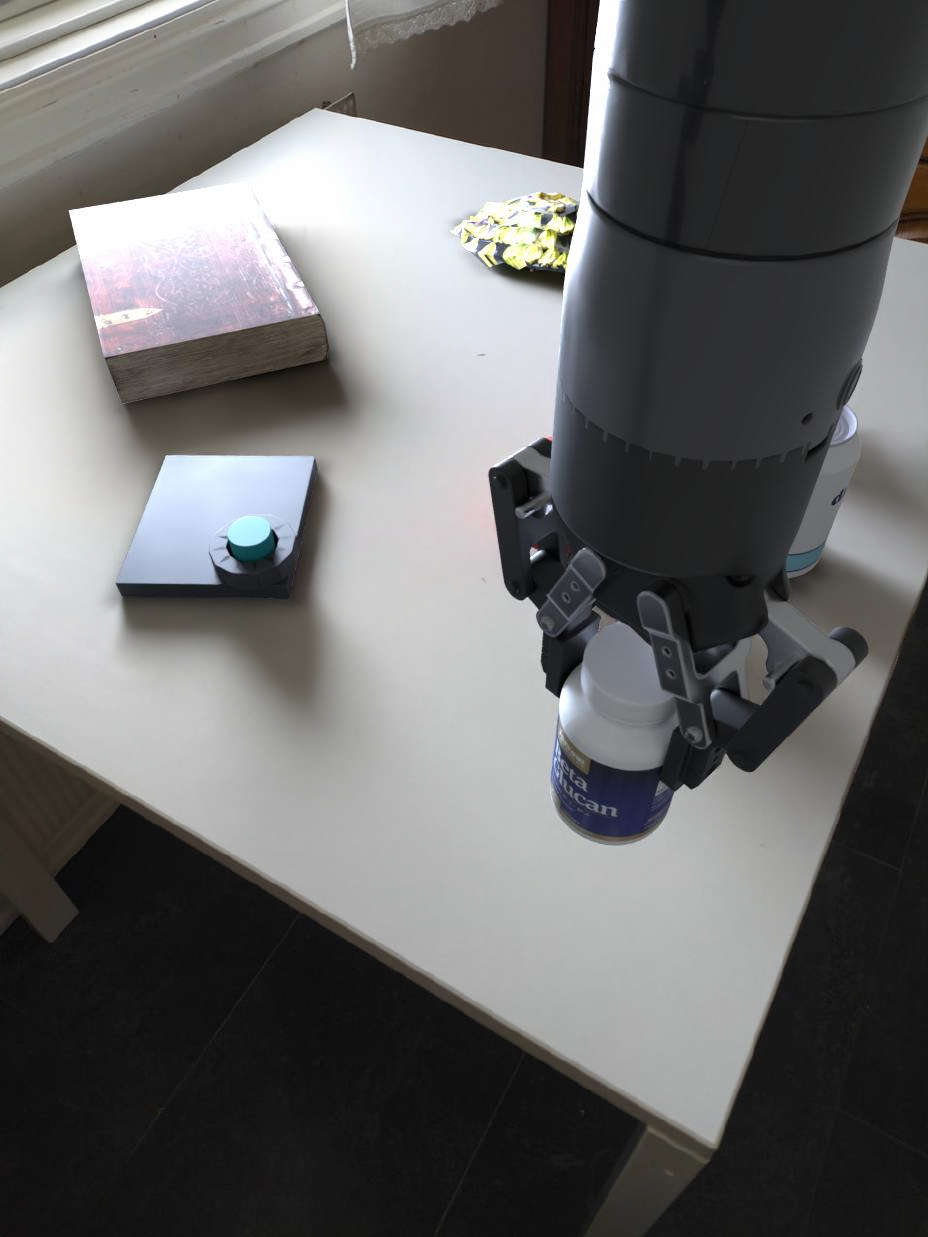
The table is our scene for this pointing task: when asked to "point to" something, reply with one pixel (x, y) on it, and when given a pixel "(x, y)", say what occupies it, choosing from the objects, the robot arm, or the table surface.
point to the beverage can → (826, 496)
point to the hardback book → (193, 291)
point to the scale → (219, 527)
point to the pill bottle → (613, 741)
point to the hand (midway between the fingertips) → (623, 725)
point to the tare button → (251, 539)
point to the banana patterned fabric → (523, 232)
